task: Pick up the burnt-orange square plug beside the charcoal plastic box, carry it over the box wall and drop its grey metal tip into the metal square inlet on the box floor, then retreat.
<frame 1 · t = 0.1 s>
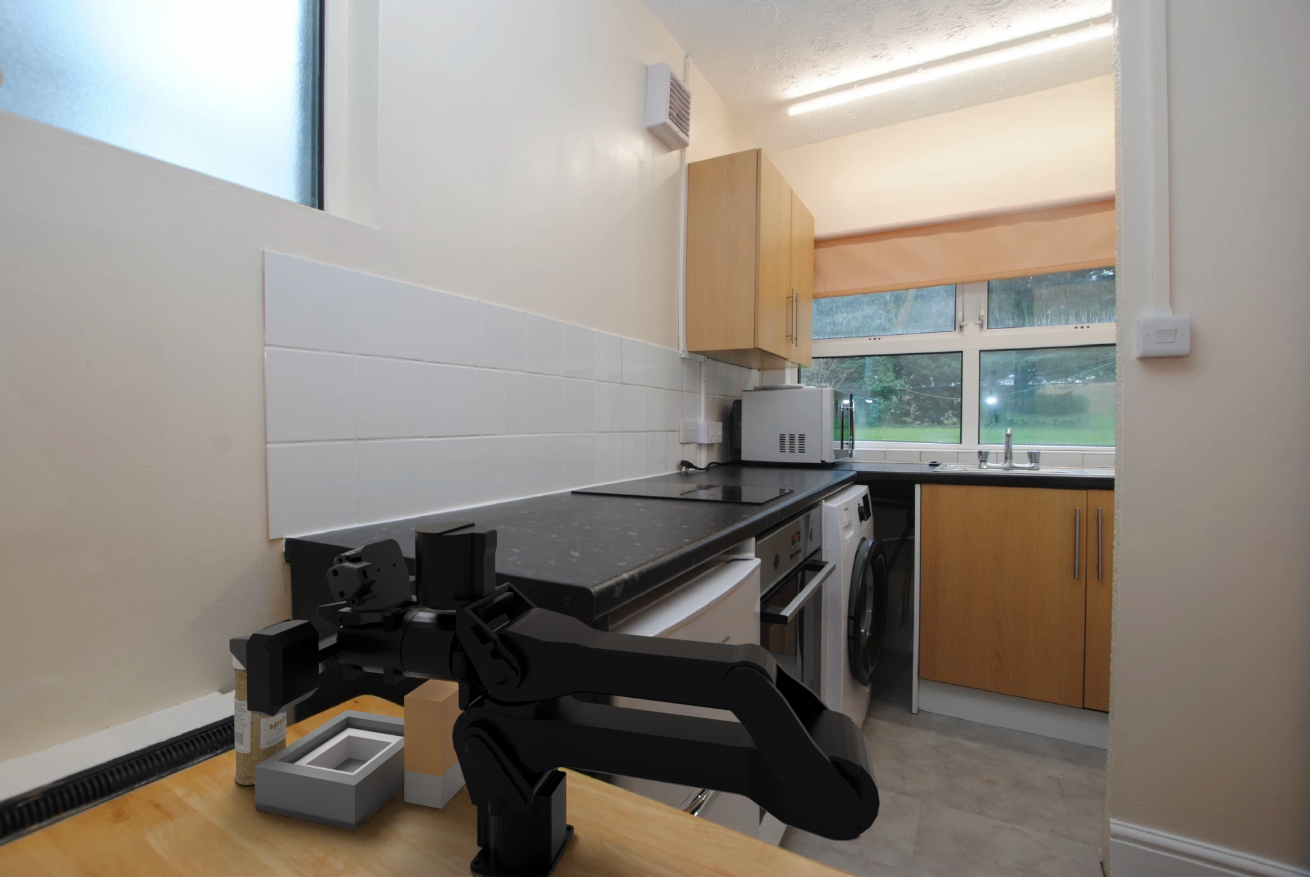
hand: (278, 626, 54), 17 cm above the table, tool horizontal, fingers open, 9 cm apart
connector: (436, 792, 55), on the table
sprinkles bottle: (261, 775, 58), on the table
inlet box: (350, 783, 57), on the table
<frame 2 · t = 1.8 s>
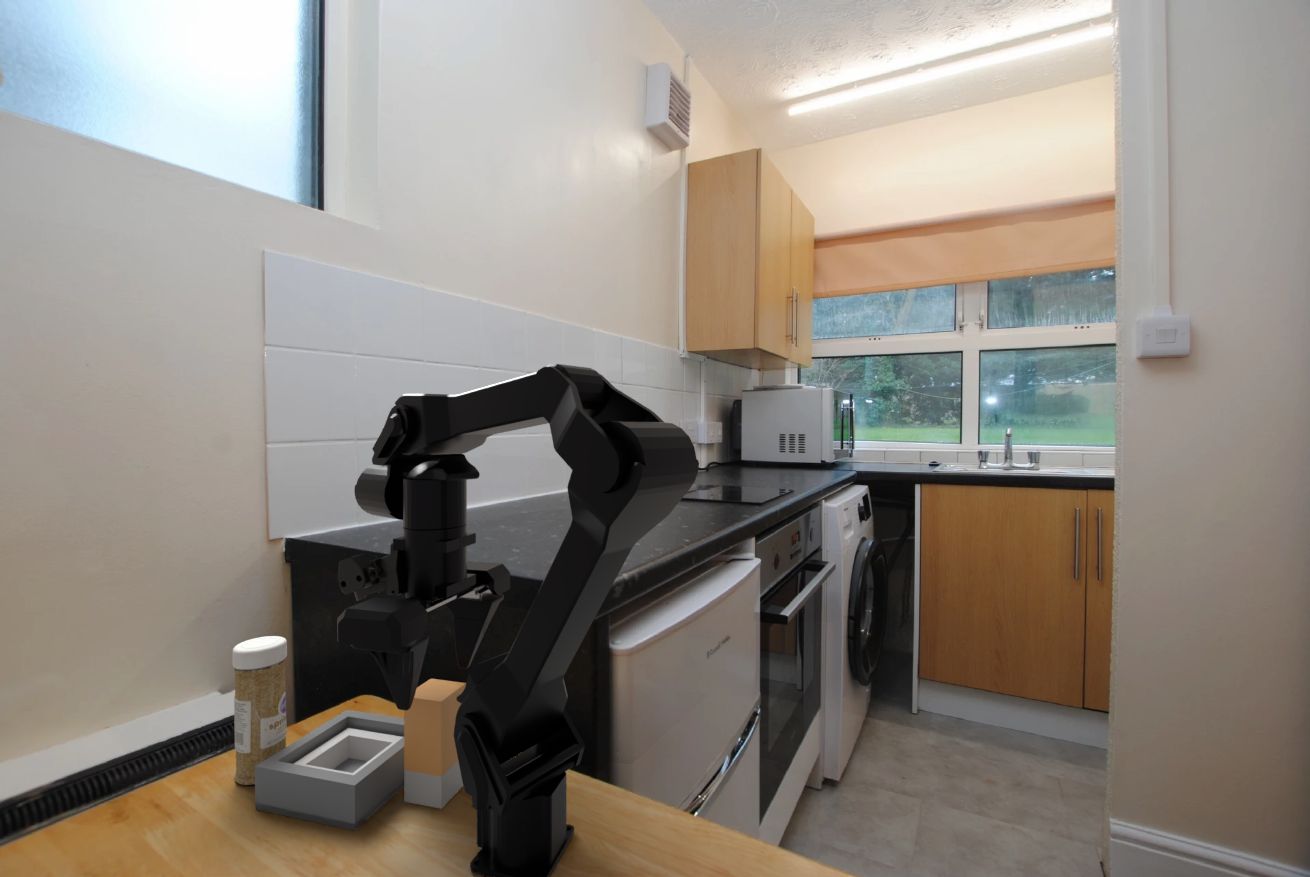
hand: (436, 686, 55), 10 cm above the table, tool pointing down, fingers open, 9 cm apart
nothing on the table moved.
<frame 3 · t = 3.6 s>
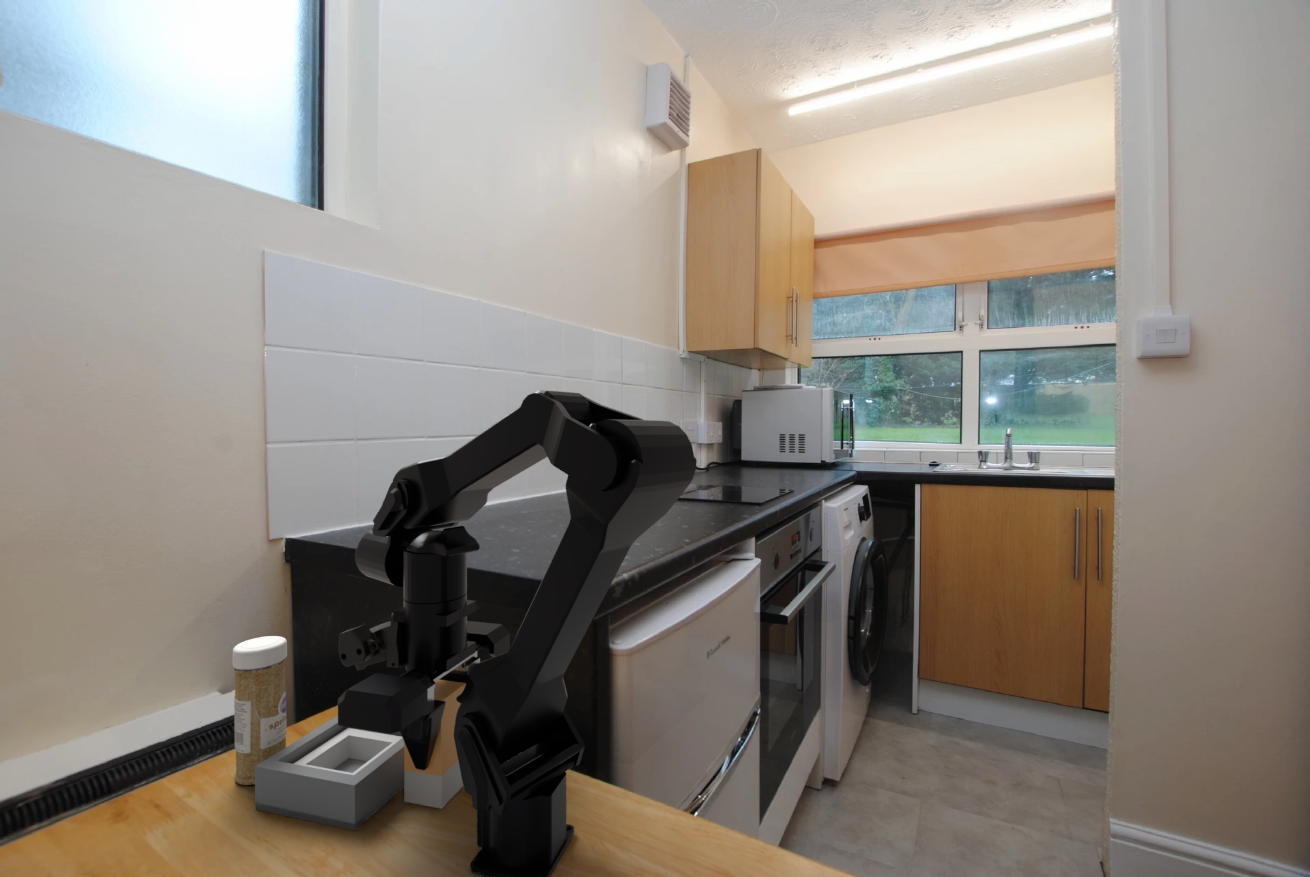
hand: (436, 755, 55), 4 cm above the table, tool pointing down, fingers closed on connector, 4 cm apart
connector: (436, 792, 55), on the table, touching gripper
everything else where it was.
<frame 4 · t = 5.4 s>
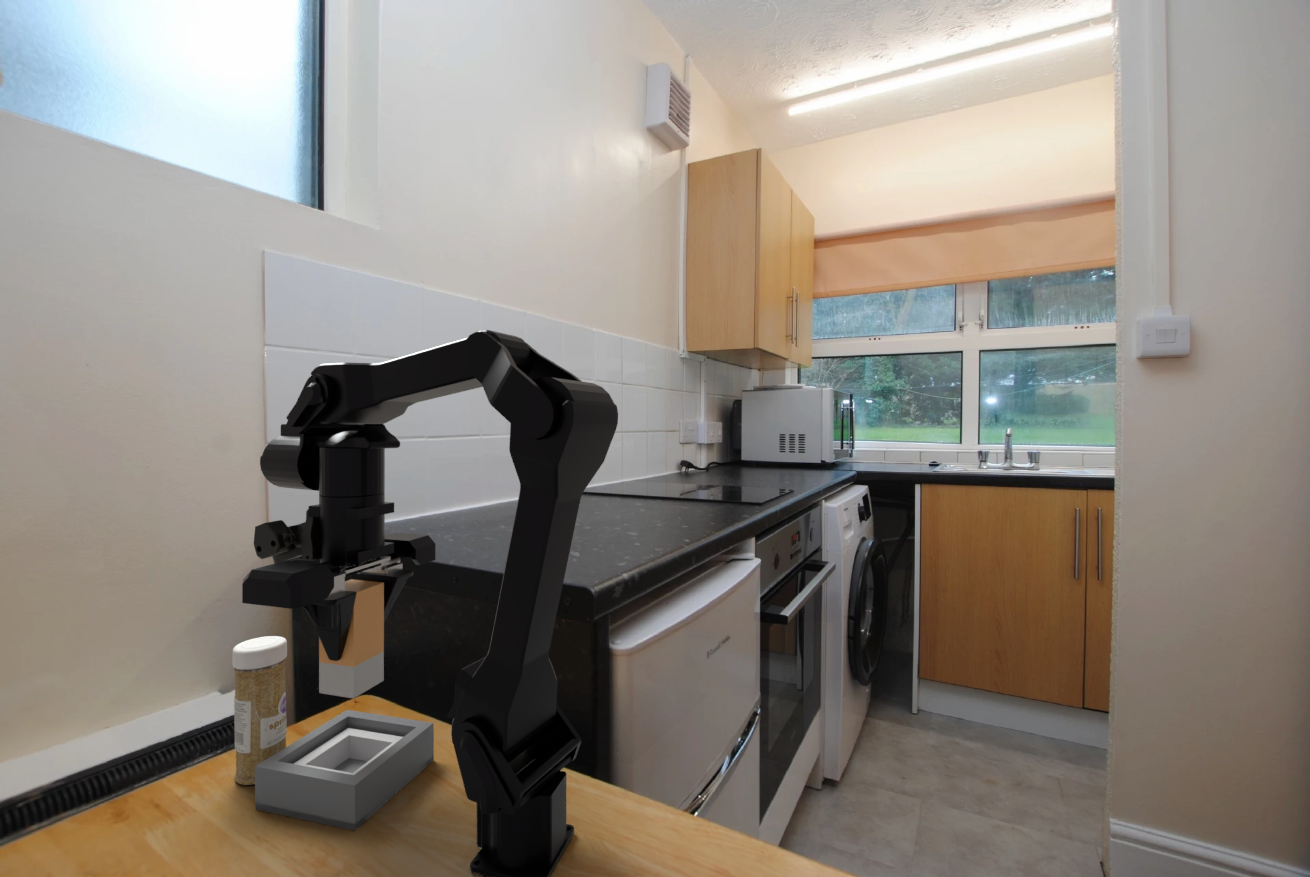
hand: (352, 651, 57), 13 cm above the table, tool pointing down, fingers closed on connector, 4 cm apart
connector: (352, 686, 57), point 10 cm above the table, touching gripper
everything else where it was.
when the fingers open (5 cm above the table, at t = 7.2 s): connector stays where it is, resting on inlet box.
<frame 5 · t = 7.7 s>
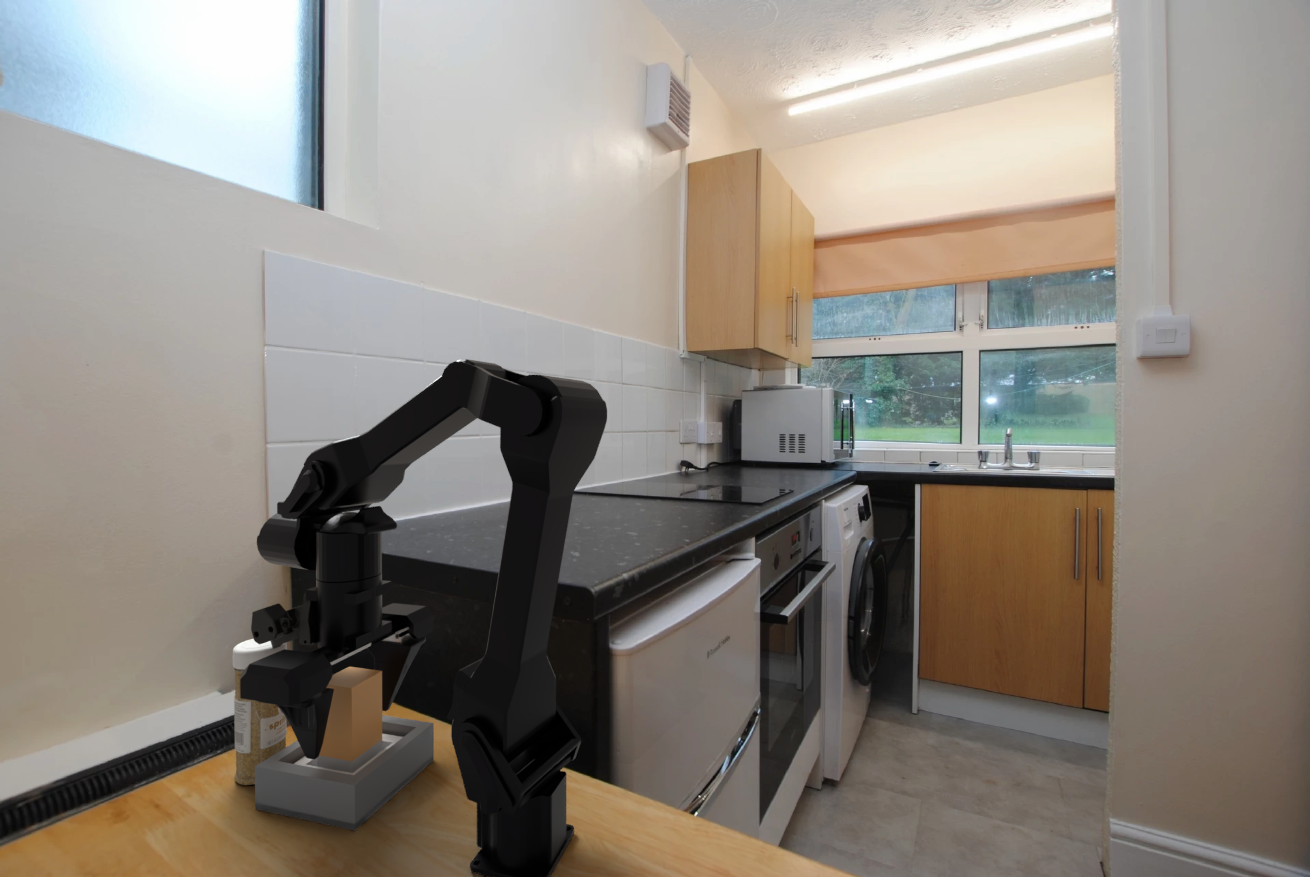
hand: (350, 732, 57), 5 cm above the table, tool pointing down, fingers open, 9 cm apart
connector: (350, 777, 57), point 1 cm above the table, touching inlet box
everything else where it was.
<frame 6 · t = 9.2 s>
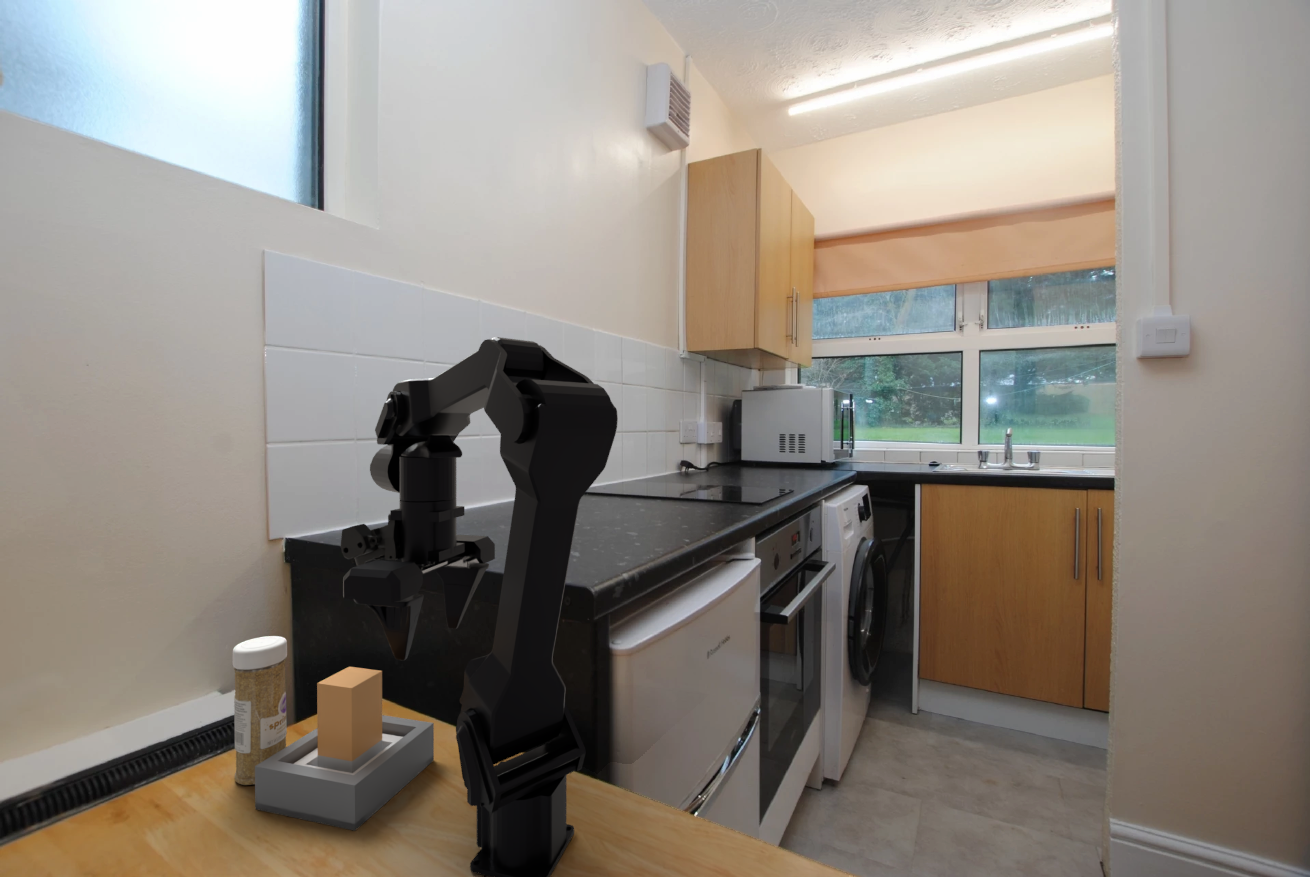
hand: (428, 642, 62), 12 cm above the table, tool pointing down, fingers open, 9 cm apart
nothing on the table moved.
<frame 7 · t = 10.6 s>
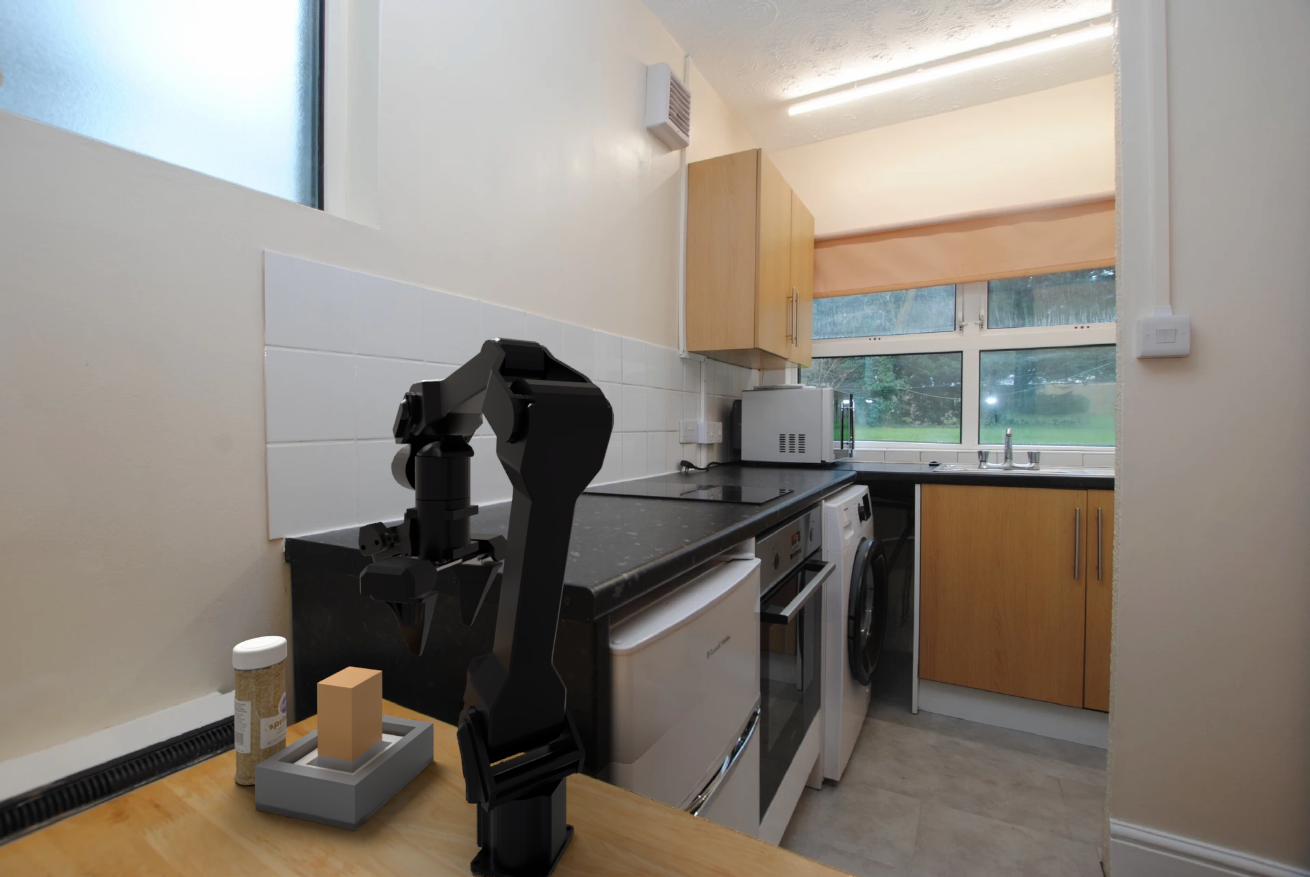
hand: (443, 639, 63), 12 cm above the table, tool pointing down, fingers open, 9 cm apart
nothing on the table moved.
at the end: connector 0.0 cm off-centre on the inlet box, point 0.6 cm above the inlet box's base; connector tilted 0°; the gripper is holding nothing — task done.
